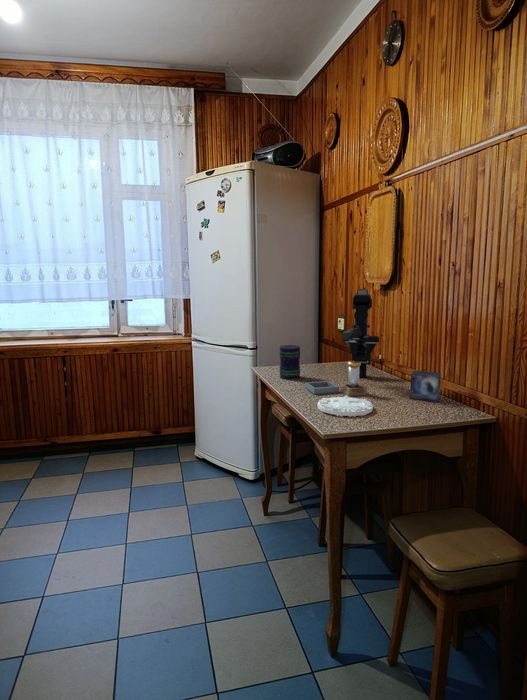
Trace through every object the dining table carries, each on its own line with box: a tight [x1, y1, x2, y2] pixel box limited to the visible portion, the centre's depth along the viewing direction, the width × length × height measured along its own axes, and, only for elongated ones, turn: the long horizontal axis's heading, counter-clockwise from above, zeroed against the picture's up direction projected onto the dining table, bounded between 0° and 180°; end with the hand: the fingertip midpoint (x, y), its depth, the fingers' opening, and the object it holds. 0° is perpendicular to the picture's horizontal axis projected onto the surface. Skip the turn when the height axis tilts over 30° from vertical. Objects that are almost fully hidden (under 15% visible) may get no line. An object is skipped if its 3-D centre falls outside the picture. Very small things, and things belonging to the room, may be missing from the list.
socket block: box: [340, 383, 368, 397], centre depth 194 cm, size 8×8×3 cm
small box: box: [409, 370, 442, 403], centre depth 184 cm, size 11×6×10 cm, turn 62°
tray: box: [304, 380, 340, 396], centre depth 199 cm, size 11×11×2 cm
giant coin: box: [317, 395, 374, 418], centre depth 172 cm, size 20×20×3 cm
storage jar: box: [279, 344, 301, 381], centre depth 223 cm, size 10×10×15 cm
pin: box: [346, 360, 361, 388], centre depth 193 cm, size 5×5×13 cm
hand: (360, 358), depth 205 cm, fingers open, 9 cm apart
